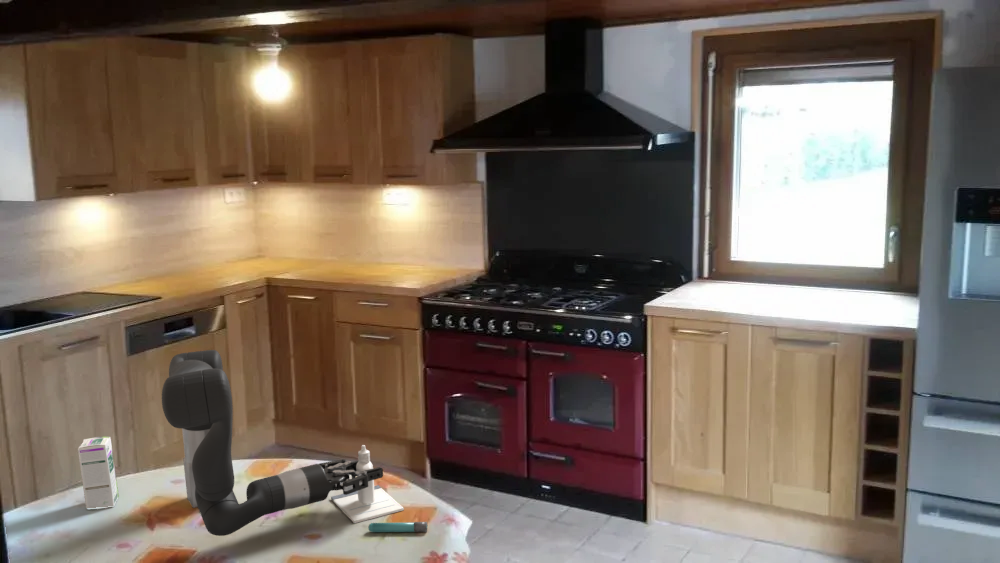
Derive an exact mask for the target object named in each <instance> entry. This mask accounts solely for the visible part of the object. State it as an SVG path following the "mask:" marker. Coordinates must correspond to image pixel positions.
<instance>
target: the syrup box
mask: <svg viewBox="0 0 1000 563" xmlns="http://www.w3.org/2000/svg"><path fill="white" fill-rule="evenodd" d="M111 438H112V437H111V436H95V437H91V438H83V440H82V442H81V443H80V445H79V446H78V448H77V453H78V460H79V469H80V474H81V481H82V487H83V495H84V502H85V509H86V508H96V507H108V506H114V507H115V505H116V503H117V502H116V501H118V499H119V497H120V494H119V489H118V488H119V487H118V482H117V473H116V466H115V461H114V460H115V459H114V453H113V451H114V450H113V446H112V445H113V444H112V439H111Z"/></svg>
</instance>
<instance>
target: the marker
mask: <svg viewBox="0 0 1000 563" xmlns="http://www.w3.org/2000/svg"><path fill="white" fill-rule="evenodd" d="M367 529H368V531H369V532H371V533H427V532H428V522H427V521H414V522H371V523H369V524H368V528H367Z"/></svg>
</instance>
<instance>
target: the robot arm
mask: <svg viewBox="0 0 1000 563" xmlns="http://www.w3.org/2000/svg"><path fill="white" fill-rule="evenodd" d="M168 366H169V367H168V377H167V378H166V379H165V380H164V383H163V384H162V390H161V407H162V410H163V415H164V416H165V419H166V421H167V422H168V423H169V425H171V426H172V427H173V428H175V429H181V431H182V442H183V452H184V457H183V468H184V469H183V470H184V477H185V478H184V479H185V487H186V488H185V489H186V497H187V498H186V499H187V500H188V502H189V503H190V505H191V507H192V508H193V509H194V508H198V511H199V514H200V516H201V519H202V521H203V524H204V526H205V529H206V530H207V532H208V533H209V534H211V535H213V536H216V537H217V536H219V537H224V536H228V535H231V534H233V533H236V532H237V531H239V530H240V529H242V528H244V527H245V526H247V525H249V524H251V523H252V522H254V521H256V520H258V519H259V518H262V517H263V516H266V515H270V514H273V513H277V512H281V511H284V510H292V509H298V508H301V507H304V506H307V505H312V504H315V503H318V502H322V501H325V500H327V498H328V496H329V494H330V492H331V491H332V492H333V491H341V490H342V494H344V495H347V494H350V493H353V492H356V491H358V490H361V489H364V488H366V487H368V481H371V480H374V481H376V480H378V479H381V478H383V476H384V470H383V468H382V467H381V466H377V467H373V469H369V470H365V471H358V472H356V465H357V463H358V462H359V461H358V460H355V461H351V460H347V461H346V458H345V459H344V458H343V459H342V458H341V459H337V460H330V461H327V462H321V463H314V464H311V465H306V466H303V467H302V466H301V467H298V468H295V469H291V470H286V471H284V472H282V473H281V472H280V473H279V474H276V475H272V476H271V475H270V476H267V477H263V478H260V479H256V480H254V481H253V480H252V481H251V482H250V483H248V484H247V486H246V493H245V494H246V500H245V501H243V502H242V503H239V502H238V500H237V499H238V498H237V497H236V493H235V492H234V488H235V487H234V486H235V474H234V466H233V459H232V444H233V443H232V442H233V420H234V419H233V416H234V415H233V413H234V411H233V409H234V408H233V407H234V406H233V396H232V390H231V384H230V380H229V379H228V378H229V377H228V376H227V373H226V372H225V371H224V368H223V360H222V357H221V355H220V353H219V351H217V349H207V350H200V351H199V350H198V351H191V352H189V351H188V352H181V353H177V354H176V355H174V356H172V358H171V359H170V362H169V365H168ZM350 476H351V478H350ZM357 476H358V477H357Z"/></svg>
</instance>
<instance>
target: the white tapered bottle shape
mask: <svg viewBox="0 0 1000 563" xmlns="http://www.w3.org/2000/svg"><path fill="white" fill-rule="evenodd" d="M357 461H359V462H358V463H357V465H356V472H358V471H365V470H369V469H373V468H374V465H373V463H372V461H371V452H370V450H368V449H367V448H366V445H365V444H362V445H361V449H360V450H358V452H357ZM356 477H358V476H356ZM374 486H375V480H371V481H368V487H366V488H364V489H361V490H358V500H359V501H360V502H361V503H362V504H369V503H373V502H374V500H375V492H374Z"/></svg>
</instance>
